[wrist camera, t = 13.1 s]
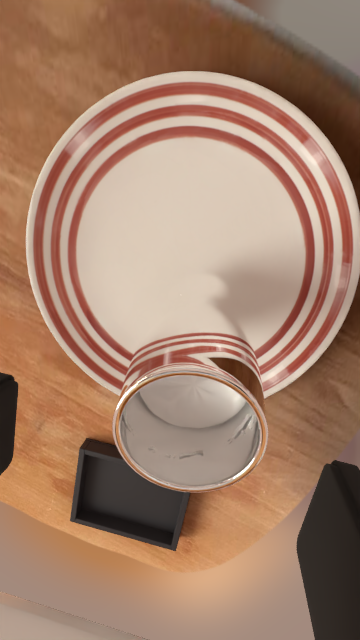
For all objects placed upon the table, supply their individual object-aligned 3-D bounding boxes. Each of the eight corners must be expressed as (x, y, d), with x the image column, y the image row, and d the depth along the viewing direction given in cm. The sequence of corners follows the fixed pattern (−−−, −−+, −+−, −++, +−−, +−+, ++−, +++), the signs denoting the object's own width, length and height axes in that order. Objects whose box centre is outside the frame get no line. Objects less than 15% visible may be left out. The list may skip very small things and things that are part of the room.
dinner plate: (387, 350, 30) (406, 365, 27) (117, 431, 36) (106, 450, 33) (290, 18, 25) (299, -13, 22) (-7, 177, 31) (-34, 171, 28)
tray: (195, 466, 36) (194, 478, 34) (177, 537, 38) (175, 551, 37) (86, 437, 37) (79, 448, 35) (76, 508, 39) (69, 521, 38)
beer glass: (254, 279, 26) (300, 390, 13) (229, 354, 29) (243, 512, 15) (169, 257, 26) (121, 344, 13) (151, 334, 29) (96, 475, 15)
